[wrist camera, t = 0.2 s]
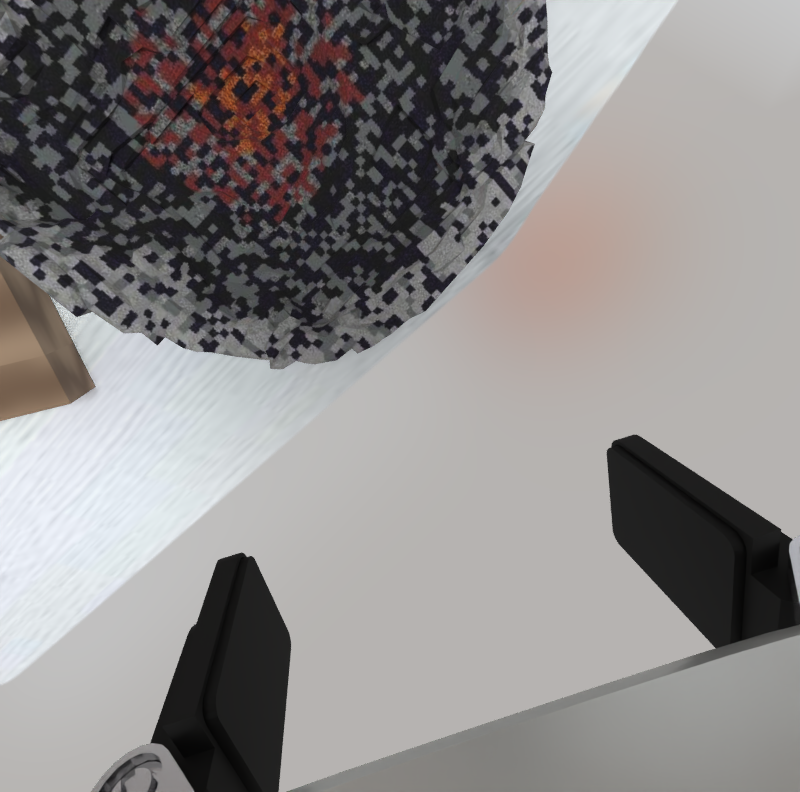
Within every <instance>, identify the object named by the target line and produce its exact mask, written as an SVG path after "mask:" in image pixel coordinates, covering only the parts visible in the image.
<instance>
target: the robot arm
mask: <svg viewBox="0 0 800 792" xmlns="http://www.w3.org/2000/svg"><path fill="white" fill-rule="evenodd" d="M607 462H608V473H609V488H610V499H611V500H610V501H611V513H612V524H613V525H612V526H613V533H614V536H615V538H616V540H617V542H618V543H619V545H620V546H621V547H622V548H623V549H624V550H625V551H626V552H627V553H628V554H629V555H630V556H631V557H632V559H633V560H634V561H635V562H636V563H637V564H638V565H639V566H640V567H641V568H642V569H643V570H644V572H645V573H646V574H647V575H648V576H649V577H650V578H651V579H652V580H653V581H654V582H655V583H656V584H657V585H658V587H659V588H660V589H661V590H662V591H663V592H664V593H665V594H666V595H667V596H668V597H669V598H670V599H671V601H672V602H673V603H674V604H675V605H676V606H677V607H678V608H679V609H680V610H681V611H682V612H683V613H684V615H685V616H686V617H687V618H688V619H689V620H690V621H691V622H692V623H693V624H694V625H695V626H696V627H697V628H698V629H699V631H700V632H701V633H702V634H703V635H704V636H705V637H706V638H707V639H708V640H709V641H710V643H712V645H713V646H714V647H715V648H716V649H713V650H709V651H706V652H703V653H700V654H696V655H694V656H690V657H687V658H684V659H681V660H678V661H675V662H672V663H669V664H666V665H663V666H659V667H656V668H654V669H650V670H647V671H644V672H641V673H638V674H635V675H632V676H629V677H626V678H622V679H620V680H617V681H613V682H610V683H607V684H604V685H601V686H598V687H595V688H592V689H589V690H586V691H583V692H580V693H577V694H573V695H571V696H567V697H564V698H561V699H558V700H555V701H552V702H549V703H546V704H543V705H540V706H537V707H534V708H531V709H528V710H525V711H522V712H519V713H516V714H513V715H510V716H507V717H504V718H501V719H498V720H495V721H492V722H489V723H486V724H483V725H480V726H477V727H474V728H471V729H468V730H465V731H462V732H459V733H456V734H453V735H450V736H447V737H444V738H441V739H438V740H435V741H432V742H429V743H426V744H423V745H420V746H417V747H414V748H411V749H408V750H405V751H402V752H399V753H396V754H393V755H391V756H388V757H385V758H382V759H379V760H376V761H373V762H370V763H367V764H364V765H361V766H358V767H355V768H352V769H349V770H346V771H343V772H340V773H338V774H335V775H332V776H330V777H327V778H324V779H321V780H318V781H315V782H313V783H310V784H307V785H304V786H302V787H299V788H296V789H293V790H290V791H287V792H800V536H797V537H795V538H794V539H793V540H792V539H791V538H790V537H788V536H787V535H785V534H783V533H782V532H781V529H780V528H778V527H777V526H775V525H774V524H772V523H771V522H769V521H768V520H766V519H764V518H763V517H762V516H760V515H759V514H757V513H756V512H754V511H752V510H751V509H749V508H748V507H746V506H745V505H743V504H742V503H740V502H739V501H737V500H735V499H734V498H733V497H731V496H730V495H728V494H726V493H725V492H724V491H722V490H721V489H719V488H718V487H716V486H714V485H713V484H711V483H710V482H708V481H707V480H705V479H704V478H702V477H701V476H699V475H698V474H696V473H695V472H693V471H692V470H690V469H689V468H687V467H686V466H684V465H683V464H681V463H680V462H678V461H677V460H675V459H674V458H672V457H670V456H669V455H667V454H666V453H664V452H663V451H661V450H660V449H658V448H657V447H655V446H654V445H652V444H651V443H649V442H648V441H646V440H645V439H643V438H642V437H640V436H638V435H632V436H628V437H625V438H622V439H618V440H615V441H614V442H613V443H612V447H611V448H609V449H608V450H607ZM290 653H291V640H290V635H289V632H288V630H287V627H286V625H285V623H284V621H283V619H282V617H281V615H280V612H279V610H278V608H277V606H276V604H275V602H274V600H273V597H272V595H271V593H270V591H269V589H268V587H267V585H266V583H265V580H264V578H263V576H262V574H261V572H260V570H259V567H258V565H257V563H256V561H255V559H254V558H253V557H252V556H250V557H246V555H245V554H244V553H239V554H235V555H232V556H229V557H225V558H222V559H220V560H218V562H217V564H216V567H215V570H214V573H213V576H212V579H211V582H210V585H209V588H208V591H207V594H206V597H205V600H204V603H203V606H202V609H201V612H200V615H199V618H198V621H197V624H196V625H194V626H193V627H192V628H191V630H190V631H189V633H188V636H187V639H186V642H185V644H184V647H183V650H182V654H181V656H180V659H179V662H178V665H177V668H176V671H175V673H174V676H173V679H172V682H171V685H170V688H169V691H168V694H167V696H166V699H165V702H164V705H163V708H162V711H161V714H160V717H159V720H158V723H157V725H156V728H155V731H154V734H153V737H152V740H151V743H150V744H146V745H142V746H140V747H138V748H136V749H134V750H132V751H130V752H128V753H127V754H125V755H124V756H123V757H122V758H120V759H119V760H118V761H117V762H115V763H114V764H113V765H112V766H111V767H110V768H109V769H108V770H107V771H106V773H105V774H104V775H103V776H102V777H101V778H100V780H99V781H98V783H97V784H96V785H95V787H94V788H93V790H92V791H91V792H278V790H279V779H280V768H281V756H282V745H283V733H284V722H285V711H286V699H287V687H288V676H289V665H290Z"/></svg>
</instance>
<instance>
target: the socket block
mask: <svg viewBox="0 0 800 792" xmlns="http://www.w3.org/2000/svg"><path fill="white" fill-rule="evenodd" d="M3 237H4V236H2V235H1V234H0V240H1V239H2V238H3ZM94 387H95V385H94V383H93V381H92V379H91V377H90V375H89V373H88V371H87V369H86V367H85V365H84V363H83V361H82V359H81V357H80V355H79V353H78V352H77V350H76V348H75V346H74V344H73V342H72V340H71V338H70V336H69V334H68V332H67V330H66V328H65V326H64V324H63V322H62V320H61V318H60V316H59V314H58V312H57V310H56V308H55V306H54V304H53V302H52V300H51V298H50V296H49V294H47V293H46V292H45V291H44V290H42V289H41V288H40V287H38V286H37V285H36V284H35V283H33V282H32V281H31V280H30V279H28V278H27V277H26V276H25V275H23V274H22V273H21V272H19V271H18V270H17V269H16V268H14V267H13V266H12V265H11V264H9V263H8V262H7V261H6V260H4V259H3V258H2V257H0V421H2V420H6V419H10V418H14V417H18V416H22V415H26V414H30V413H34V412H38V411H42V410H46V409H50V408H54V407H59V406H63V405H67V404H71V403H72V402H74V401H75V400H77V399H78V398H80V397H81V396H83V395H84V394H85V393H87V392H88V391H90V390H91V389H93V388H94Z"/></svg>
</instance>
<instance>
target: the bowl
mask: <svg viewBox="0 0 800 792" xmlns="http://www.w3.org/2000/svg"><path fill="white" fill-rule="evenodd" d="M551 74H552V71H551V69H550V66H549V61H548V46H547V10H546V0H0V234H1V235H2V236H4V237H3V238H2V239H1V240H0V257H2V258H3V259H4V260H6V261H7V262H8V263H9V264H11V265H12V266H13V267H14V268H16V269H17V270H18V271H19V272H21V273H22V274H23V275H25V276H26V277H27V278H28V279H30V280H31V281H32V282H33V283H35V284H36V285H37V286H38V287H40V288H41V289H42V290H44V291H45V292H46V293H47V294H49V295H50V296H51V297H52V298H54V299H55V300H56V301H57V302H59V303H60V304H61V305H63V306H64V307H65V308H66V309H68V310H69V311H70V312H71V313H73V314H74V315H75V316H76V317H78V316H81V315H84V314H87V313H90V312H94V313H95V314H97V315H98V316H99V317H101V318H102V319H104V320H105V321H107V322H108V323H110V324H111V325H112V326H114V327H115V328H117V329H118V330H120V331H121V332H123V333H143V334H144V335H145V336H147V337H148V338H149V339H150V340H151V341H153V342H154V343H155V344H156V345H158V344H159V343H160V342H161V341H162V340H163V339H164V338H165V337H166V338H168V339H169V340H171V341H173V342H174V343H176V344H178V345H179V346H181V347H183V348H185V349H189V350H192V351H196V352H213V353H219V354H224V355H230V356H236V357H245V358H253V359H265V360H270V368H271V369H284V368H285V367H287V366H288V365H290V364H291V363H293V362H295V361H300V362H303V363H309V364H318V363H323V362H329V361H335V360H338V359H339V358H340V357H341V356H343V355H344V354H345V353H346V352H348V351H349V350H350V349H351V348H352V349H353V350H354V351H356V352H357V353H359V352H362V351H364V350H366V349H368V348H370V347H372V346H374V345H375V344H377V343H378V342H380V341H381V340H382V339H384V338H385V337H387V336H388V335H390V334H391V333H393V332H394V331H395V330H396V329H397V328H399V327H400V326H401V325H402V324H403V323H404V322H405V321H407V320H408V319H409V318H411V317H414V316H416V315H418V314H420V313H422V312H424V311H426V310H427V309H428V308H429V306H430V305H431V304H432V303H433V302H434V301H435V300H436V299H437V297H438V296H439V295H440V294H441V293H442V292H443V291H444V290H445V288H446V287H447V286H448V285H449V284H450V283H451V282H452V281H453V279H454V278H455V277H456V276H457V275H458V274H459V273H460V272H461V270H462V269H463V268H464V267H465V266H466V265H467V264H468V263H469V262H470V260H471V259H472V258H473V257H474V256H475V255H476V254H477V253H478V251H479V250H480V249H481V248H482V247H483V246H484V244H485V243H486V242H487V240H488V239H489V237H490V236H491V235H492V233H493V232H494V230H495V229H496V228H497V226H498V225H499V224H500V222H501V221H502V219H503V218H504V217H505V215H506V214H507V212H508V211H509V209H510V207H511V205H512V203H513V201H514V199H515V197H516V195H517V193H518V191H519V189H520V187H521V185H522V181H523V178H524V175H525V172H526V168H527V165H528V162H529V159H530V156H531V153H532V150H533V148H534V145H535V144H533V143H530V142H527V141H525V140H526V138H527V137H528V136H529V135H530V133H531V132H532V131H533V130H534V128H535V127H536V125H537V123H538V121H539V119H540V117H541V115H542V113H543V111H544V109H545V95H546V91H547V88H548V84H549V81H550V77H551Z"/></svg>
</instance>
